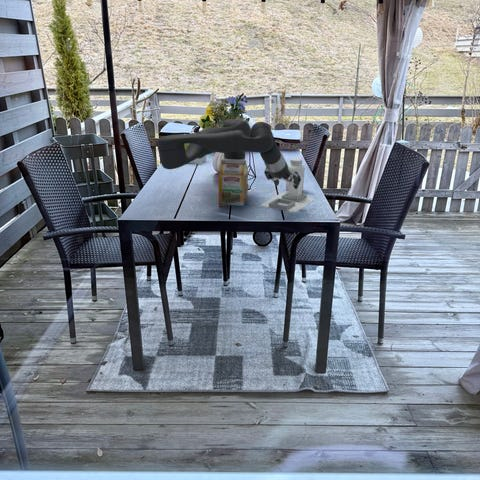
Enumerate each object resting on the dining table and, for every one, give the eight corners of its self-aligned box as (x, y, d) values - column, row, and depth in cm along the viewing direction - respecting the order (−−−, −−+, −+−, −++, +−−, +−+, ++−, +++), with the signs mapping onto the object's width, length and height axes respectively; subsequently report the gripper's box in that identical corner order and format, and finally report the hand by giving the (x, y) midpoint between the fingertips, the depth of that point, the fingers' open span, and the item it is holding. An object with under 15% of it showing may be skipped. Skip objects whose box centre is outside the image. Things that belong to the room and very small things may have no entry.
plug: (297, 200, 179) (298, 177, 175) (286, 198, 181) (288, 175, 177) (301, 197, 183) (303, 174, 179) (291, 195, 185) (292, 173, 181)
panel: (295, 215, 166) (295, 208, 165) (259, 207, 174) (259, 201, 173) (315, 201, 182) (315, 195, 181) (282, 195, 190) (282, 189, 189)
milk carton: (218, 207, 174) (218, 162, 167) (223, 199, 184) (223, 156, 176) (243, 208, 173) (244, 163, 165) (247, 200, 182) (248, 157, 175)
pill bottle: (289, 193, 192) (291, 161, 186) (283, 189, 199) (285, 157, 193) (305, 192, 194) (308, 160, 188) (298, 187, 201) (301, 156, 195)
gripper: (255, 169, 161) (268, 190, 175) (289, 174, 154) (300, 196, 168) (262, 153, 163) (275, 175, 177) (296, 157, 156) (306, 180, 170)
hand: (287, 185), depth 172 cm, fingers open, 8 cm apart
